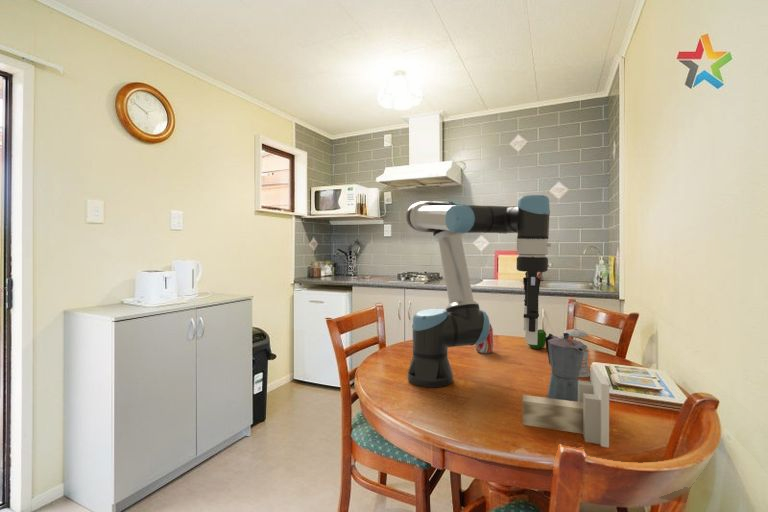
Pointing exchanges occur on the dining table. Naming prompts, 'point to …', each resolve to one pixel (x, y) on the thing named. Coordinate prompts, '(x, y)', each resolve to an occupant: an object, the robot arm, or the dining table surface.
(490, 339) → the soda can
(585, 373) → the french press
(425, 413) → the dining table surface
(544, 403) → the grey rectangular block
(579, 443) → the dining table surface
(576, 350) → the moka pot
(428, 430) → the dining table surface
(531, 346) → the bell pepper
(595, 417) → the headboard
